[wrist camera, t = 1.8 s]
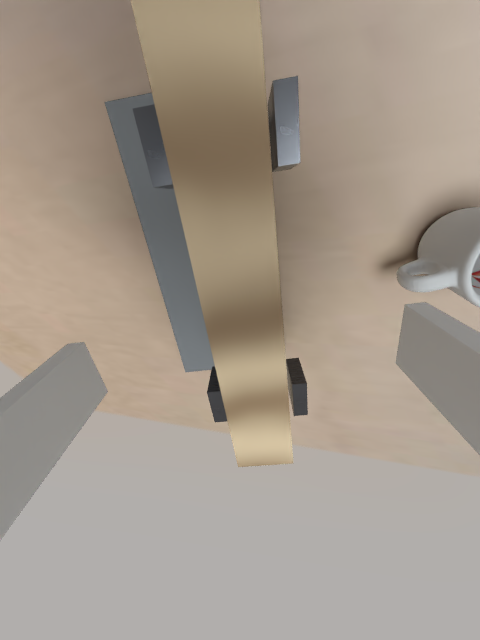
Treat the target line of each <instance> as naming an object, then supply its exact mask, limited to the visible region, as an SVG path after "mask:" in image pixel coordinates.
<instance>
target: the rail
mask: <svg viewBox="0 0 480 640" xmlns="http://www.w3.org/2000/svg"><path fill="white" fill-rule="evenodd" d="M131 5H132V9H133V13H134V18H135V22H136V26H137V31H138V35H139V39H140V44H141V48H142V52H143V57H144V61H145V65H146V70H147V74H148V78H149V83H150V87H151V91H152V96H153V100H154V104H155V109H156V113H157V117H158V122H159V126H160V130H161V135H162V139H163V143H164V148H165V152H166V156H167V161H168V165H169V169H170V174H171V178H172V182H173V187H174V191H175V195H176V200H177V204H178V208H179V213H180V217H181V221H182V226H183V230H184V234H185V239H186V243H187V247H188V252H189V256H190V260H191V265H192V269H193V273H194V278H195V282H196V286H197V291H198V295H199V299H200V304H201V308H202V312H203V317H204V321H205V325H206V330H207V334H208V338H209V343H210V347H211V351H212V356H213V360H214V364H215V369H216V373H217V377H218V382H219V386H220V390H221V395H222V399H223V403H224V408H225V412H226V416H227V421H228V425H229V429H230V434H231V438H232V442H233V447H234V451H235V455H236V459H237V464H238V467H246V466H261V465H277V464H292V463H293V453H292V439H291V425H290V412H289V398H288V385H287V371H286V357H285V344H284V330H283V316H282V303H281V289H280V275H279V262H278V248H277V235H276V221H275V207H274V194H273V180H272V166H271V153H270V139H269V125H268V112H267V98H266V85H265V71H264V57H263V44H262V30H261V16H260V3H259V0H131Z"/></svg>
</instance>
